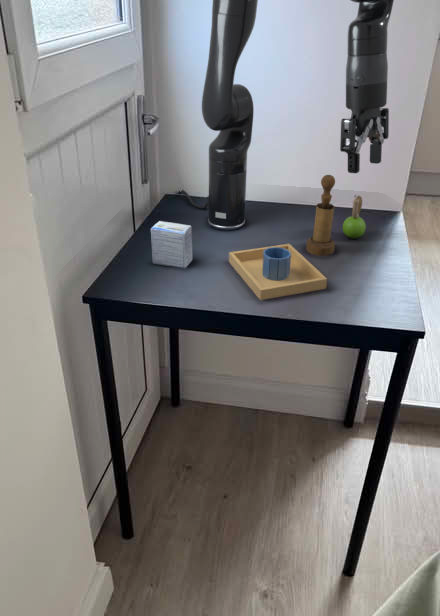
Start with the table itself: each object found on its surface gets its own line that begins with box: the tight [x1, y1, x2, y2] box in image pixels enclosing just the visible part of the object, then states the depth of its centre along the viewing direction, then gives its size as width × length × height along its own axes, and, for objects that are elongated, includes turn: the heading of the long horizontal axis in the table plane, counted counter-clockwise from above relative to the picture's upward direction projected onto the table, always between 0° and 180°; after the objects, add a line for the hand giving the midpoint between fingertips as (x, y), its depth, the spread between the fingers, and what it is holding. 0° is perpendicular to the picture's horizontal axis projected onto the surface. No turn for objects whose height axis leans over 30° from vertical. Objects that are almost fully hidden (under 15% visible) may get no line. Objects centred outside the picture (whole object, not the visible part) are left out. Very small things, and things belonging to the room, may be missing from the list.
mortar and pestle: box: [305, 174, 336, 257], centre depth 126 cm, size 7×6×18 cm
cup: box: [262, 247, 291, 281], centre depth 118 cm, size 6×6×5 cm
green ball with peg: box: [342, 194, 367, 239], centre depth 134 cm, size 5×6×12 cm
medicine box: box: [150, 220, 193, 269], centre depth 122 cm, size 8×4×9 cm, turn 71°
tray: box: [228, 243, 328, 301], centre depth 119 cm, size 18×15×3 cm
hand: (364, 167), depth 112 cm, fingers open, 8 cm apart
